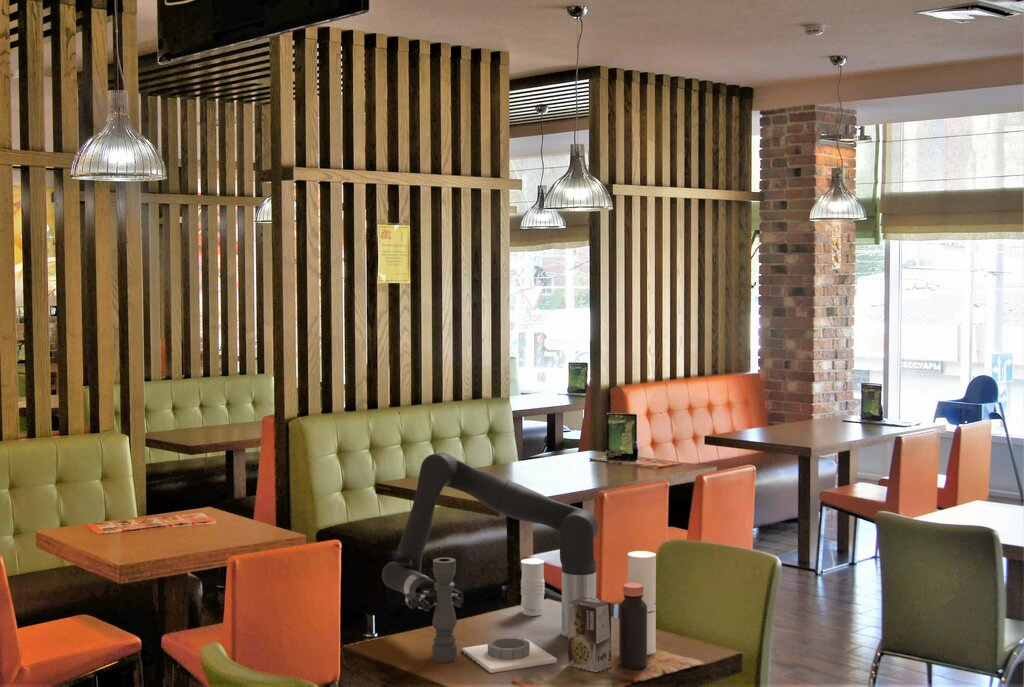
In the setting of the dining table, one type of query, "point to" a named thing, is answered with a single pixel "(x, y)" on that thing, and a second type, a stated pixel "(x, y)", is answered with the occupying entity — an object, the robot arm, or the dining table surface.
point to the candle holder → (444, 611)
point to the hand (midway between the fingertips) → (444, 605)
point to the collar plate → (508, 664)
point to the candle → (532, 586)
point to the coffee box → (589, 634)
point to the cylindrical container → (645, 589)
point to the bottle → (633, 628)
